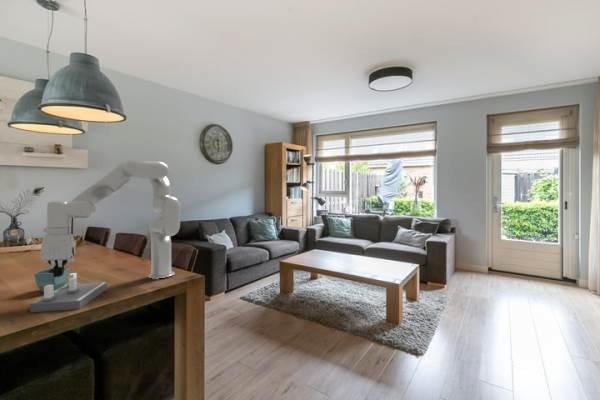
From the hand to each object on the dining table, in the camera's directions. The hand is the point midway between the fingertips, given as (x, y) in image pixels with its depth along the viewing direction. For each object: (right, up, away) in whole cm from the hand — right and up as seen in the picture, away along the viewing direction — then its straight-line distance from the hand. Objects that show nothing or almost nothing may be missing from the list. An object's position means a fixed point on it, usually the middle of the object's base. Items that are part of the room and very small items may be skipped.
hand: (58, 276), depth 116 cm
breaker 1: (+2, -7, -7) cm, 10 cm away
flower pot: (-13, -10, +12) cm, 20 cm away
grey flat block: (+5, -10, +2) cm, 11 cm away
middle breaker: (+5, -7, +2) cm, 8 cm away
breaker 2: (-1, -7, +9) cm, 11 cm away
